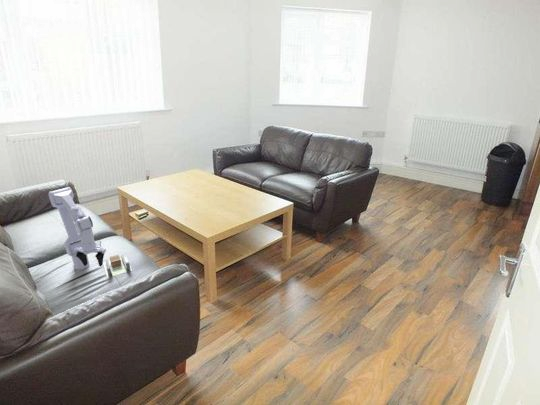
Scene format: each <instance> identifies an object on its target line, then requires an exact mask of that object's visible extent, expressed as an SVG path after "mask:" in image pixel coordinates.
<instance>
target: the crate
mask: <svg viewBox="0 0 540 405" xmlns="http://www.w3.org/2000/svg"><path fill="white" fill-rule="evenodd" d="M120 258H121V256H120V255H119V254H116V255H112V256H109V261H111V264H112V267H113V268H114V267H117V266H121V260H120Z"/></svg>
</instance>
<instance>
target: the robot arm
mask: <svg viewBox="0 0 540 405" xmlns="http://www.w3.org/2000/svg"><path fill="white" fill-rule="evenodd" d="M74 196H75V195H74V191H73V189H72V188H71V187H70V186H67V187H64V188H60V189H56V190H51V191H48V198H49V201H50V204H51V206H52V207H53V208H57V210H58V212H59V215H60V218H61V221H62V223H63V226H64V229H65V231H66V234H67V238H66V239H65V241H64V246H65V247H64V248H65V251H66V254H67V256H69V257H71V259H72V263H73V264H72V265H73V267H74V269H75V270H78V271H80V270H85V269H86V268H88V267H90V260H89V257H88V255H89V254H95V253H96V254H95V258H96V259H97V263H98V266H99V267H102V266H103V263H104V257H105V253H106V252H107V249H106V247H102V246H101V247H97V246H96V244H95V241H96V240H95V238H94V232H93V227H94V224H93V219H92V218H91V217H90V215H88V214H85V212H84V210H82V208H81V207H79V206H77V205H76V203H75V201H74Z"/></svg>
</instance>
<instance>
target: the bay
mask: <svg viewBox="0 0 540 405" xmlns="http://www.w3.org/2000/svg"><path fill="white" fill-rule="evenodd" d="M120 260H121V266H117V267H114V268H113V267H112V264H111V261H110V260H108V258H107V259H105V261H104V262H103V264H102V266H103V267H104V268H103V269H104V271H105V274H106V277H107V279H108V278H111V277H114V276H119V275H122V274H125V273H128V272H132V271H133V270H132V268H131V264H130V262H129V260H128V258H127V256H124V255H120Z"/></svg>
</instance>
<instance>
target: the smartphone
mask: <svg viewBox="0 0 540 405" xmlns="http://www.w3.org/2000/svg"><path fill="white" fill-rule="evenodd" d="M101 242H102V241H101V239H97V240H95V244H96V246H97V247H101V248H102V244H101Z"/></svg>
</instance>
